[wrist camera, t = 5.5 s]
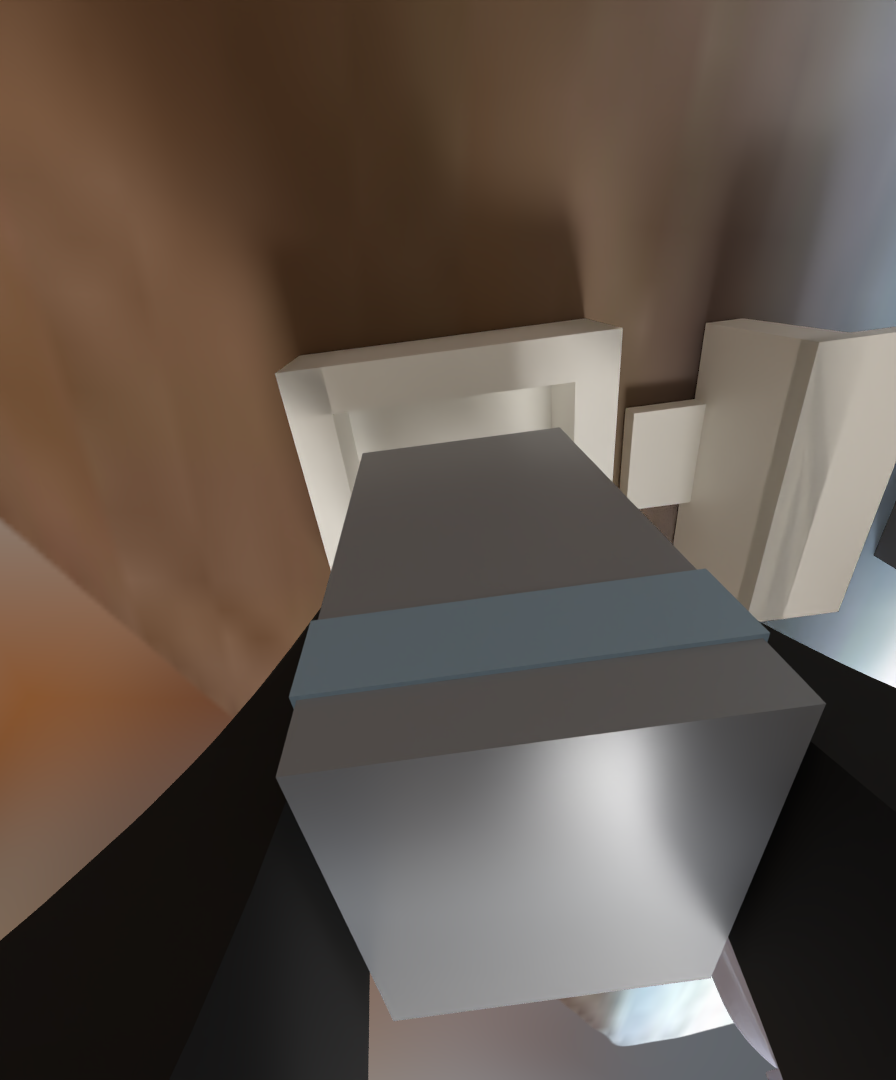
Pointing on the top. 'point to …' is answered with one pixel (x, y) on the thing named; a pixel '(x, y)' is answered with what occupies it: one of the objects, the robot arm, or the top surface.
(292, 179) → the top surface
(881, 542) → the block
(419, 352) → the end holder
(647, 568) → the connector plug
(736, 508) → the side clip
